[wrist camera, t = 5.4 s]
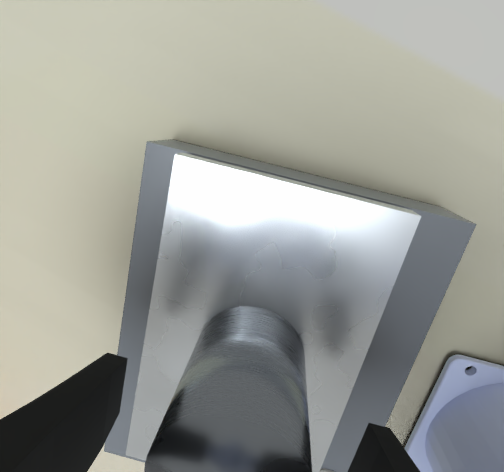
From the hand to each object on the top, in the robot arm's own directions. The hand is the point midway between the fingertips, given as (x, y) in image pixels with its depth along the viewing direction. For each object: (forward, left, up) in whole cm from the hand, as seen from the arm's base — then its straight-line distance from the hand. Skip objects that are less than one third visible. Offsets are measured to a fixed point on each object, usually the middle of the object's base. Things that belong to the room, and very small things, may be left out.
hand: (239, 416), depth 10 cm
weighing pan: (0, 0, -4) cm, 4 cm away
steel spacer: (0, 0, -3) cm, 3 cm away
